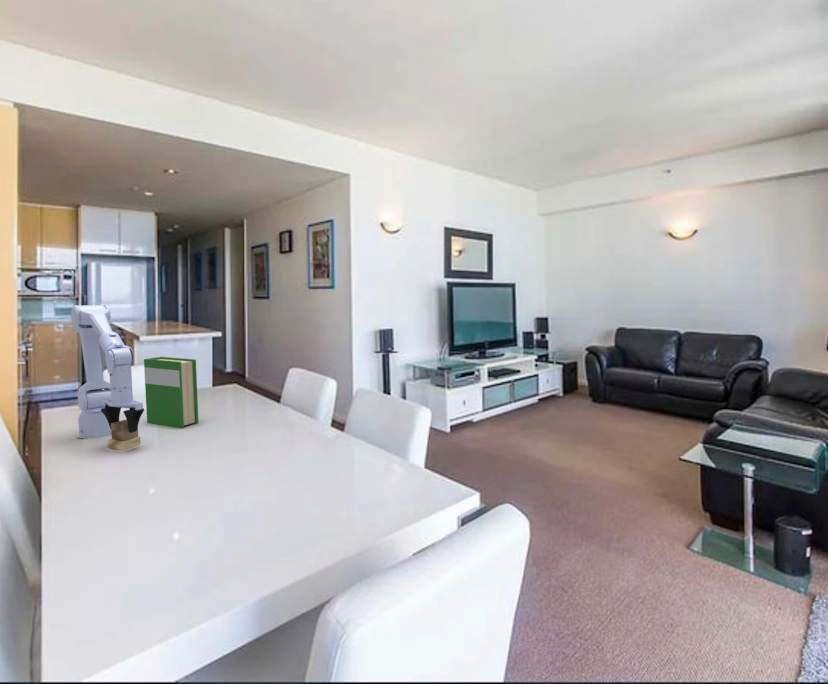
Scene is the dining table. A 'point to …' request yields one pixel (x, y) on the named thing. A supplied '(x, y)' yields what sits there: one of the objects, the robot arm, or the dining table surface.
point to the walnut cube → (122, 431)
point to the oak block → (124, 444)
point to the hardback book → (171, 391)
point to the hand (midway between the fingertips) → (123, 430)
